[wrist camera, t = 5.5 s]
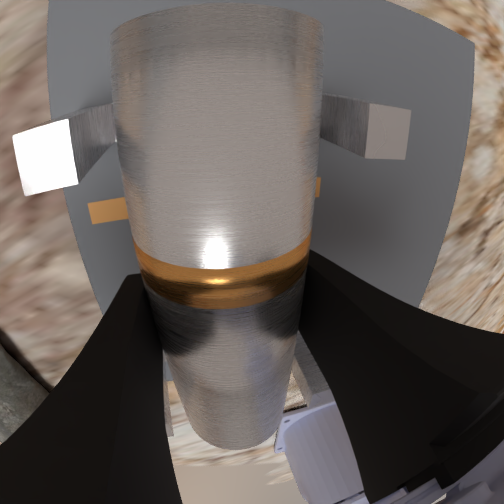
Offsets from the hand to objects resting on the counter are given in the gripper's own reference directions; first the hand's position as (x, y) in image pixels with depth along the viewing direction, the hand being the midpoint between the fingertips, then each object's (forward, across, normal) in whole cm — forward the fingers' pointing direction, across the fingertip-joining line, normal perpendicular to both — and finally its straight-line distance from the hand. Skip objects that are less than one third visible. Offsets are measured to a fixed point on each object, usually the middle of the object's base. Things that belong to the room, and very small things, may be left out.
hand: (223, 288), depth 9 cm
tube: (+2, 0, 0) cm, 2 cm away
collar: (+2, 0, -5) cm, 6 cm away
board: (+3, -4, -1) cm, 5 cm away
